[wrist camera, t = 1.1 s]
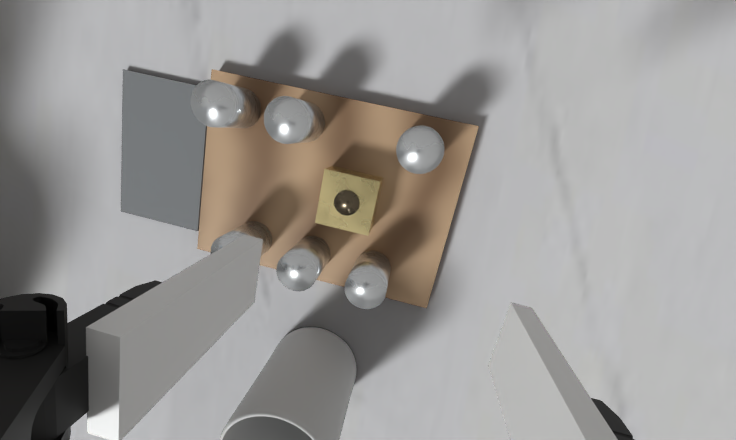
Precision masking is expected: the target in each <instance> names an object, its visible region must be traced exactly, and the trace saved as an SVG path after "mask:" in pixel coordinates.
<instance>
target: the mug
mask: <svg viewBox="0 0 736 440" xmlns="http://www.w3.org/2000/svg"><path fill="white" fill-rule="evenodd" d="M355 378H356V361H355V357H354V355H353V353H352V351H351V349H350V347H349V346H348V345H347V344H346V343H345V342H344V341H343V340H342V339H341V338H340V337H339V336H337V335H336V334H334V333H332V332H330V331H328V330H325V329H322V328H316V327H305V328H300V329H297V330H294V331H292V332H291V333H289V334H288V335H286V336H285V337H284V338H283V339H282V340H281V341H280V343H279V344H278V346H277V347H276V349H275V350H274V352H273V354H272V355H271V357H270V359H269V360H268V362H267V363H266V365H265V366H264V368H263V369H262V371H261V372H260V374H259V375H258V377H257V378H256V380H255V381H254V383H253V385H252V386H251V388H250V389H249V391H248V392H247V394H246V395H245V397H244V398H243V400H242V401H241V403H240V404H239V406H238V407H237V409H236V410H235V412H234V413H233V415H232V416H231V418H230V420H229V421H228V423H227V424H226V426H225V428H224V429H223V431H222V434H221V436H220V440H339V439H340V435H341V431H342V427H343V423H344V419H345V415H346V411H347V408H348V404H349V400H350V396H351V393H352V389H353V386H354V383H355Z"/></svg>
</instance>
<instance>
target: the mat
mask: <svg viewBox="0 0 736 440" xmlns="http://www.w3.org/2000/svg"><path fill="white" fill-rule="evenodd" d="M195 87H196V85H193V84H188V83H183V82H179V81H174V80H170V79H165V78H160V77H156V76H151V75H147V74H142V73H138V72H133V71H128V70H124V69H123V102H122V170H121V212H125V213H129V214H133V215H137V216H141V217H145V218H149V219H153V220H157V221H161V222H165V223H168V224H172V225H176V226H180V227H184V228H188V229H192V230H196V231H199V223H200V211H201V198H202V185H203V173H204V160H205V148H206V135H207V126H206V125H204V124H202V123H201V122H200V121H199V120H198V119H197V118H196V116H195V115H194V113H193V111H192V107H191V95H192V92H193V90H194V88H195Z"/></svg>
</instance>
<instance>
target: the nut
mask: <svg viewBox="0 0 736 440" xmlns="http://www.w3.org/2000/svg"><path fill="white" fill-rule="evenodd" d="M382 182H383V177H378V176H374V175H370V174H365V173H361V172H357V171H352V170H348V169H344V168H339V167H335V166H331V167H328V168H325V169H324V174H323V180H322V186H321V192H320V197H319V203H318V209H317V214H316V220H315V223H318V224H322V225H326V226H330V227H334V228H338V229H342V230H346V231H350V232H354V233H359V234H363V235H367V236H369V233H370V231H371V229H372V227H373V222H374V218H375V213H376V209H377V204H378V200H379V195H380V191H381V186H382Z"/></svg>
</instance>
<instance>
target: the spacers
mask: <svg viewBox="0 0 736 440" xmlns="http://www.w3.org/2000/svg"><path fill="white" fill-rule="evenodd" d="M191 107H192V111H193V113H194V115H195V116H196V118H197V119H198V120H199V121H200V122H201V123H202V124H204V125H206V126H209V127H220V128H249V127H252V126H253V125H255V124H256V123H257V121H258V120H259V118H260V115H261V104H260V101H259V99H258V97H257V96H256V95H255V94H254V93H253V92H252V91H251V90H249V89H246V88H242V87H238V86H235V85H231V84H227V83H223V82H219V81H215V80H204V81H202V82H200V83H199V84H197V85H196V87H195V88H194V90H193V92H192V95H191ZM264 125H265V128H266V130H267V132H268V134H269V135H270V136H271V137H272V138H273V139H274V140H276V141H277V142H280V143H283V144H293V143H305V142H312V141H314V140H316V139H318V138H319V137H320V136H321V134H322V133H323V130H324V127H325V118H324V115H323V113H322V111H321V110H320V108H319V107H318V106H316V105H315V104H313V103H311V102H307V101H304V100H300V99H296V98H293V97H289V96H280V97H277V98H275V99H273V100H272V101H271V102H270V103H269V104H268V106H267V107H266V109H265V112H264ZM396 154H397V158H398V161H399V163H400V164H401V166H402V167H403V168H404V169H406V170H407V171H409V172H411V173H415V174H425V173H428V172H430V171H432V170H434V169H435V168H436V167H437V166H438V165H439V164H440V162H441V161H442V159H443V156H444V143H443V140H442V138H441V136H440V135H439V133H438V132H437V131H435V130H434V129H433V128H430V127H428V126H414V127H411V128H409V129H408V130H406V131H405V132H404V133H403V134H402V135H401V137H400V138H399V140H398V143H397V147H396ZM243 235H248V236H252V237H256V238H260V239H263V244H262V251H261V256H262V255H263V254H264V253H266V252H267V251H268V250H269V249H270V247H271V245H272V235H271V232H270V230H269V229H268V228H267V227H266V226H265V225H264V224H262V223H260V222H257V221H250V222H247V223H245V224H243V225H241V226H239V227H237V228H236V229H234V230H232V231H230V232H228V233H226V234H224V235H222V236H220V237H218V238H217V239H216V240H215V241H214V242H213V244H212V246H211V254H212V253H214V252H215V251H217V250H219V249H221V248H222V247H224V246H226V245H227V244H229V243H231V242H233V241H234V240H236V239H238V238H239V237H241V236H243ZM330 256H331V252H330V248H329V246H328V244H327V243H326V242H325V241H324V240H323V239H322V238H320V237H317V236H306V237H304V238H303V239H301V240H300V241H299V242H298V243H297V244H296V245H295V246H294V247H292V248H291V249H290V250H289V251H288V252H287V253H286V254H285V255H284V256H283V257H282V258H281V259H280V260H279V262H278V264H277V269H276V271H277V276H278V278H279V280H280V282H281V283H282V284H283V285H284V286H285V287H287V288H288V289H290V290H293V291H304V290H306V289H308V288H310V287H311V286H312V285H313V284H314V282H315V281H316V279H317V278H318V276H319V275H320V273H321V272H322V271H323V269H324V268H325V266H326V265H327V263H328V262H329V260H330ZM390 271H391V266H390V262H389V260H388V259H387V257H386V256H385V255H383V254H382V253H380V252H377V251H366V252H364V253H362V254H361V255H359V257H358V258H357V260H356V262H355V264H354V266H353V268H352V270H351V272H350V274H349V276H348V278H347V280H346V282H345V294H346V297H347V299H348V300H349V301H350V302H351V303H352V304H353V305H354V306H356V307H358V308H362V309H372V308H375V307H377V306H379V305H380V304H381V303H382V302H383V300H384V298H385V296H386V291H387V286H388V281H389V276H390Z"/></svg>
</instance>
